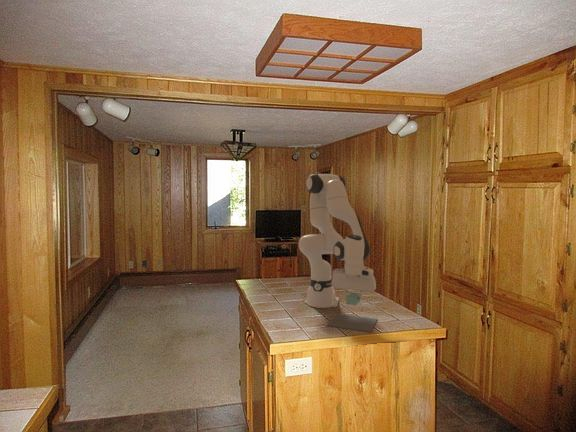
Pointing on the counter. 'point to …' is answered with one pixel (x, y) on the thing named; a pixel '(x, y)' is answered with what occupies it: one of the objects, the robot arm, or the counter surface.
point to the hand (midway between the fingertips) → (353, 299)
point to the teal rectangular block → (352, 298)
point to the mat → (352, 322)
